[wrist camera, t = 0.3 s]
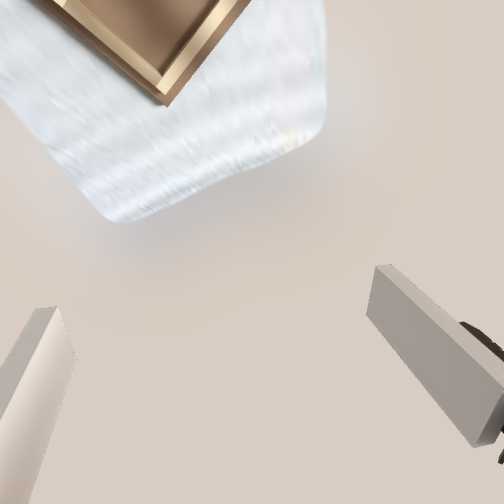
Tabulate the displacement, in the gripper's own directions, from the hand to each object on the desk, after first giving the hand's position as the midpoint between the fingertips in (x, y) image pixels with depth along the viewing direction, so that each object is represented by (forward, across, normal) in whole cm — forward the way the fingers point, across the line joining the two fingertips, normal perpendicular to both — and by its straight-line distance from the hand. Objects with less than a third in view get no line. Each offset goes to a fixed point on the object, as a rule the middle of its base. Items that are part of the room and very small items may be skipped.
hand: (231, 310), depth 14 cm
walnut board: (+23, -2, +14) cm, 27 cm away
